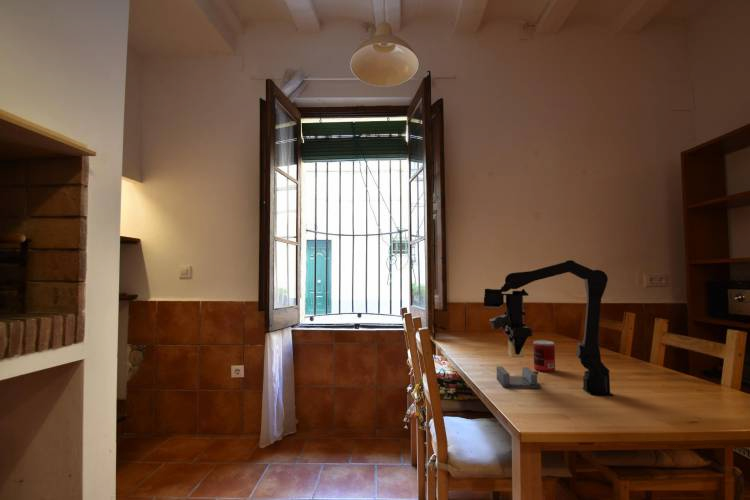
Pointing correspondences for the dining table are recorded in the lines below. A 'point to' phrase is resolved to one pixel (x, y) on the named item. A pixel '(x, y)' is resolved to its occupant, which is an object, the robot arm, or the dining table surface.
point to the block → (513, 350)
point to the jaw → (529, 375)
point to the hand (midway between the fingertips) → (515, 353)
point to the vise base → (514, 380)
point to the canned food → (544, 356)
